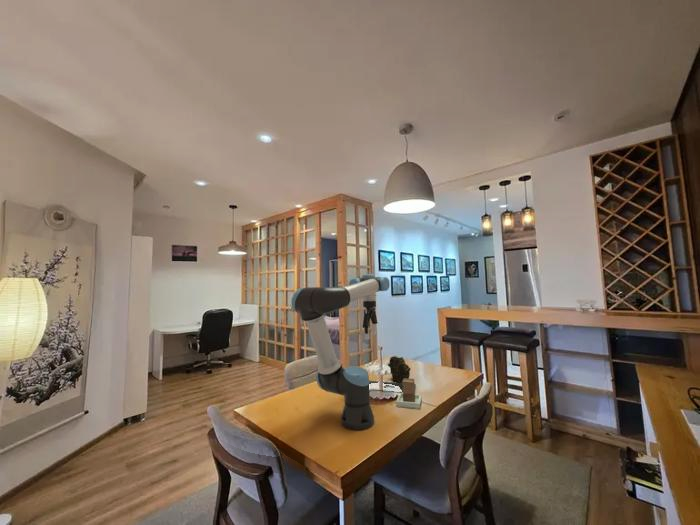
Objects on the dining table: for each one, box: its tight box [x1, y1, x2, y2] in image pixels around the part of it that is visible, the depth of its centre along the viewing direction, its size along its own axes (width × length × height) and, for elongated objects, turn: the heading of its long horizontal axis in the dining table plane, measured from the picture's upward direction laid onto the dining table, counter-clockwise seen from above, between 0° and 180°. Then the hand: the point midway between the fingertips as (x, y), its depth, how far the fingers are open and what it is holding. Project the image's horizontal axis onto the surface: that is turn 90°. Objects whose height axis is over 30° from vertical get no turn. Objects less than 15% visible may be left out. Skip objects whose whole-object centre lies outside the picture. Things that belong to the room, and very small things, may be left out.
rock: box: [387, 355, 411, 383], centre depth 183 cm, size 12×9×15 cm
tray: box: [395, 393, 423, 410], centre depth 147 cm, size 12×12×3 cm
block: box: [402, 378, 416, 402], centre depth 148 cm, size 6×6×11 cm
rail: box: [369, 379, 417, 392], centre depth 169 cm, size 10×30×2 cm, turn 71°
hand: (370, 337), depth 166 cm, fingers open, 13 cm apart
